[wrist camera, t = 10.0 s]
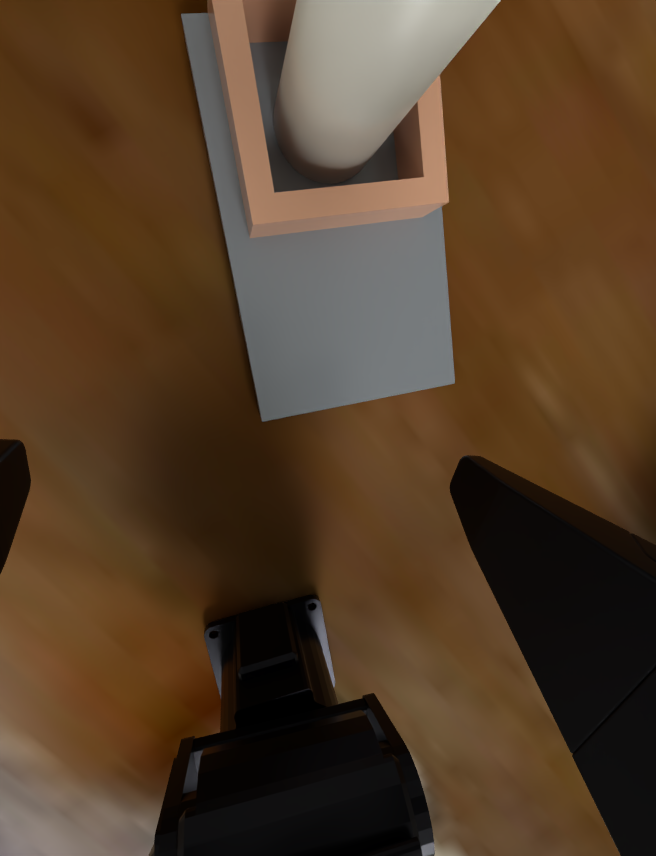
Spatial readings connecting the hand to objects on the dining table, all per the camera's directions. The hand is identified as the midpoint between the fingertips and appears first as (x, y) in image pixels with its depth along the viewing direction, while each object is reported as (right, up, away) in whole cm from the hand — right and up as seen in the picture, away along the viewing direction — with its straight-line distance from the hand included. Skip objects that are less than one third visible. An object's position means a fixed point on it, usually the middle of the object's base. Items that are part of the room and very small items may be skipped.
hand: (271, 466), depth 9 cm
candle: (+1, +13, +9) cm, 16 cm away
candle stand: (+1, +10, +11) cm, 15 cm away
